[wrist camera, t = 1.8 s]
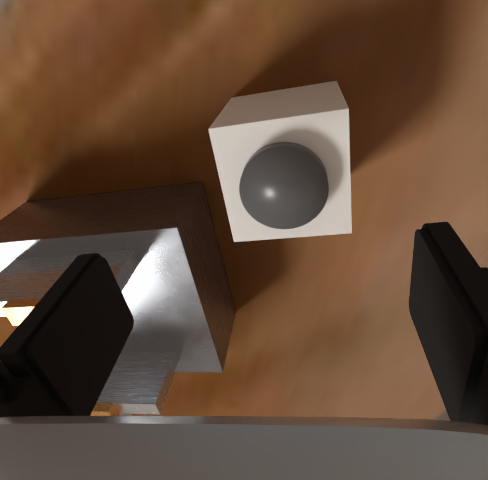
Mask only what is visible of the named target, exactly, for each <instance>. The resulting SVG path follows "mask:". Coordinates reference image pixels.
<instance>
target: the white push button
mask: <svg viewBox="0 0 488 480" xmlns="http://www.w3.org/2000/svg"><path fill="white" fill-rule="evenodd" d="M208 130H209V135H210V139H211V144H212V148H213V152H214V157H215V161H216V166H217V170H218V174H219V179H220V183H221V188H222V192H223V196H224V201H225V205H226V210H227V214H228V219H229V223H230V227H231V232H232V236H233V241H234V242H242V241H255V240H268V239H281V238H294V237H307V236H320V235H334V234H347V233H352V225H351V182H350V139H349V108H348V106H347V103H346V101H345V99H344V96H343V94H342V92H341V90H340V87H339V85H338V83H337V81H332V82H326V83H319V84H313V85H307V86H301V87H295V88H288V89H282V90H276V91H270V92H264V93H257V94H251V95H245V96H239V97H233V98H231V99H230V100H229V102H228V103H227V104H226V106H225V107H224V108H223V110H222V111H221V112H220V114H219V115H218V116H217V118H216V119H215V120H214V122H213V123H212V124H211V126H210V127H209V129H208Z"/></svg>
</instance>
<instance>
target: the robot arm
mask: <svg viewBox="0 0 488 480" xmlns="http://www.w3.org/2000/svg"><path fill="white" fill-rule="evenodd" d="M409 310H410V314H411V317H412V320H413V323H414V325H415V328H416V331H417V333H418V336H419V339H420V341H421V344H422V346H423V349H424V352H425V354H426V357H427V360H428V362H429V365H430V368H431V370H432V373H433V376H434V378H435V381H436V384H437V386H438V389H439V392H440V394H441V397H442V400H443V402H444V405H445V407H446V410H447V413H448V415H449V418H450V420H451V421H442V420H427V419H393V418H355V417H260V416H90V415H91V413H92V411H93V409H94V407H95V405H96V402H97V400H98V398H99V396H100V394H101V392H102V390H103V388H104V386H105V384H106V382H107V380H108V378H109V376H110V374H111V372H112V370H113V368H114V366H115V364H116V362H117V359H118V357H119V355H120V353H121V351H122V349H123V347H124V345H125V343H126V341H127V339H128V337H129V335H130V333H131V331H132V329H133V326H134V318H133V315H132V313H131V311H130V309H129V307H128V305H127V303H126V300H125V298H124V296H123V294H122V292H121V290H120V287H119V285H118V283H117V281H116V279H115V277H114V275H113V272H112V270H111V268H110V266H109V264H108V262H107V260H106V259H105V258H104V257H102V256H101V255H100V254H98V253H91V254H81V255H78V256H77V257H76V258H75V259H74V261H73V262H72V263H71V264H70V265H69V267H68V268H67V269H66V270H65V271H64V272H63V274H62V275H61V276H60V277H59V278H58V280H57V281H56V282H55V283H54V284H53V286H52V287H51V288H50V289H49V290H48V291H47V293H46V294H45V295H44V296H43V297H42V299H41V300H40V301H39V302H38V303H37V304H36V306H35V307H34V308H33V309H32V310H31V312H30V313H29V314H28V315H27V316H26V317H25V319H24V320H23V321H22V322H21V323H20V325H19V326H18V327H17V328H16V329H15V331H14V332H13V333H12V334H11V335H10V336H9V338H8V339H7V340H6V341H5V342H4V344H3V345H2V346H1V347H0V361H1V362H0V480H488V268H486V267H484V268H480V266H479V265H478V264H477V262H476V261H475V259H474V258H473V257H472V255H471V254H470V252H469V251H468V249H467V248H466V247H465V245H464V244H463V242H462V241H461V240H460V238H459V237H458V235H457V234H456V232H455V231H454V230H453V228H452V227H451V225H450V224H449V223H448V222H438V223H427V224H424V225H423V227H422V229H419V230H416V232H415V238H414V250H413V261H412V273H411V285H410V296H409Z"/></svg>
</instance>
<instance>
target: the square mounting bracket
mask: <svg viewBox="0 0 488 480" xmlns="http://www.w3.org/2000/svg"><path fill="white" fill-rule="evenodd" d="M91 253H98V254H100V255H101V256H102V257H104V258H105V259H106V260H107V262H108V264H109V266H110V268H111V270H112V272H113V275H114V277H115V279H116V281H117V283H118V285H119V287H120V290H121V292H122V294H123V296H124V298H125V300H126V303H127V305H128V307H129V309H130V311H131V313H132V315H133V318H134V326H133V329H132V331H131V333H130V335H129V337H128V339H127V341H126V343H125V345H124V347H123V349H122V351H121V353H120V355H119V357H118V359H117V362H116V364H115V366H114V368H113V370H112V372H111V374H110V376H109V378H108V380H107V382H106V384H105V386H104V388H103V390H102V392H101V394H100V396H99V398H98V400H97V402H96V405H95V407H94V409H93V411H92V413H91V415H90V416H119V415H120V414H119V413H129V414H160V413H161V410H162V407H163V405H164V402H165V399H166V396H167V393H168V390H169V387H170V384H171V381H172V379H173V376H174V373H175V372H223V369H224V364H225V359H226V355H227V350H228V345H229V341H230V336H231V332H232V327H233V322H234V318H235V313H236V312H235V308H234V304H233V300H232V296H231V292H230V288H229V284H228V280H227V276H226V272H225V268H224V264H223V260H222V257H221V253H220V249H219V245H218V241H217V237H216V233H215V229H214V225H213V221H212V217H211V213H210V209H209V205H208V201H207V198H206V194H205V190H204V186H203V182H197V183H188V184H180V185H171V186H162V187H153V188H144V189H136V190H127V191H118V192H109V193H100V194H91V195H83V196H74V197H65V198H56V199H47V200H39V201H30V202H25V203H24V204H22V205H21V206H20V207H18V208H17V209H15V210H14V211H13V212H11V213H10V214H8V215H7V216H6V217H4V218H3V219H1V220H0V316H7V317H8V319H9V320H10V322H11V323H12V325H20V323H21V322H22V321H23V320H24V319H25V317H26V316H27V315H28V314H29V313H30V312H31V310H32V309H33V308H34V307H35V306H36V304H37V303H38V302H39V301H40V300H41V299H42V297H43V296H44V295H45V294H46V293H47V291H48V290H49V289H50V288H51V287H52V286H53V284H54V283H55V282H56V281H57V280H58V278H59V277H60V276H61V275H62V274H63V272H64V271H65V270H66V269H67V268H68V267H69V265H70V264H71V263H72V262H73V261H74V259H75V258H76V257H77V256H78V255H81V254H91Z"/></svg>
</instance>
